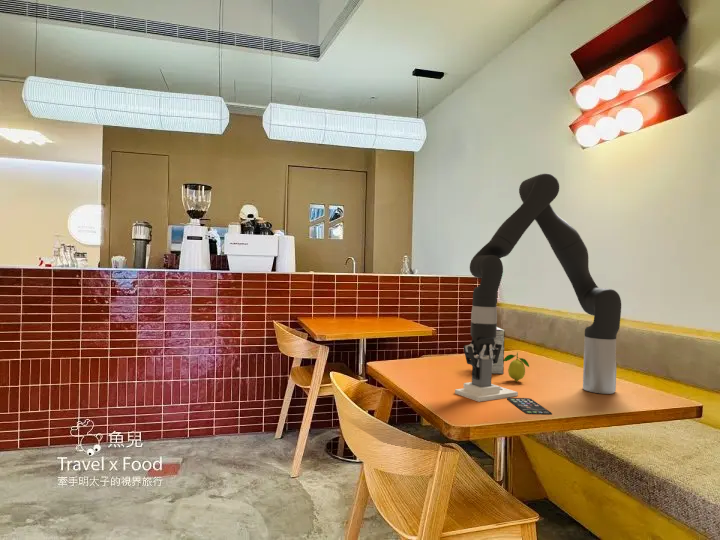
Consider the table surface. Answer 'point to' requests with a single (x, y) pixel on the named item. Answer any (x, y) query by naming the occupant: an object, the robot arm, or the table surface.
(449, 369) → the table surface
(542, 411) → the smartphone
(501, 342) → the candy bar box
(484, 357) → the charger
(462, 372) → the table surface
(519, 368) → the lemon
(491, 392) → the outlet plate
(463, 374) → the table surface
